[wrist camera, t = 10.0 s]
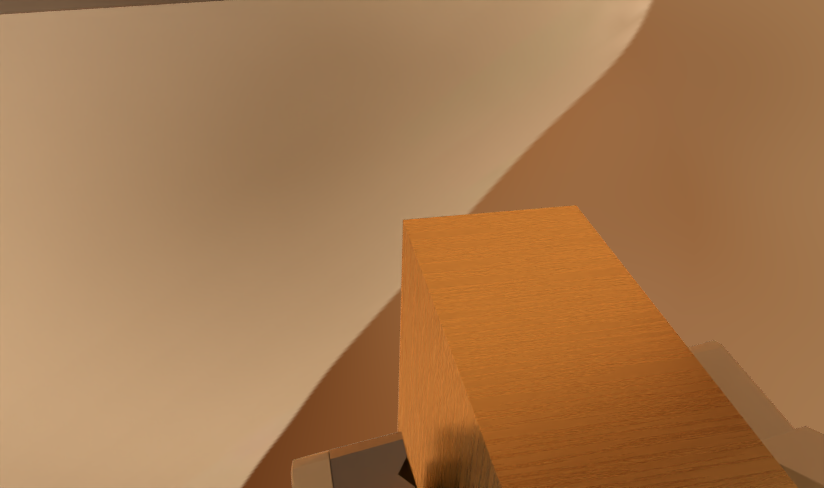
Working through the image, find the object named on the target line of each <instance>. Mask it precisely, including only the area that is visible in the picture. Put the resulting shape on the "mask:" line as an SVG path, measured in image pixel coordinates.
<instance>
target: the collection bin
mask: <svg viewBox="0 0 824 488" xmlns="http://www.w3.org/2000/svg"><path fill="white" fill-rule="evenodd" d="M206 1H222V0H0V14H13V13H29V12H45V11H61V10H77V9H93V8H109V7H126V6H142V5H158V4H174V3H190V2H206Z"/></svg>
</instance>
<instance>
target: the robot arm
mask: <svg viewBox="0 0 824 488" xmlns="http://www.w3.org/2000/svg"><path fill="white" fill-rule="evenodd" d="M688 348H689V350H690V351H691V352H692V353H693V355H694V356H695V357H696V359H697V360H698V361H699V362H700V364H701V365H702V366H703V368H704V369H705V370H706V371H707V373H708V374H709V375H710V376H711V378H712V379H713V380H714V382H715V383H716V384H717V385H718V387H719V388H720V389H721V390H722V392H723V393H724V394H725V396H726V397H727V398H728V399H729V401H730V402H731V403H732V404H733V406H734V407H735V408H736V410H737V411H738V412H739V413H740V415H741V416H742V417H743V418H744V420H745V421H746V422H747V424H748V425H749V426H750V427H751V429H752V430H753V431H754V432H755V434H756V435H757V436H758V438H759V439H760V440H761V441H762V443H763V444H764V445H765V446H766V448H767V449H768V450H769V452H770V453H771V454H772V455H773V457H774V458H775V459H776V460H777V462H778V463H779V464H780V466H781V467H782V468H783V469H784V471H785V472H786V473H787V474H788V476H789V477H790V478H791V480H792V481H793V482H794V483H795V485H796V486H797V487H798V488H824V434H822V433H820V432H818V431H815V430H813V429H811V428H809V427H807V426H804V427H801V428H796V429H795V428H794V427H793V426H792V425H791V424H790V423H789V422H788V420H787V419H786V418H785V417H784V416H783V415H782V413H781V412H780V411H779V410H778V409H777V408H776V407H775V405H774V404H773V403H772V402H771V401H770V400H769V398H768V397H767V396H766V395H765V394H764V393H763V391H762V390H761V389H760V388H759V387H758V386H757V384H756V383H755V382H754V381H753V380H752V379H751V378H750V377H749V375H748V374H747V373H746V372H745V371H744V370H743V368H742V367H741V366H740V365H739V364H738V363H737V362H736V360H735V359H734V358H733V357H732V356H731V354H730V353H729V352H728V351H727V350H726V349H725V348H724V346H723V345H722V344H720V343H718V342H716V341H714V340H712V341H709V342H705V343H702V344H698V345H694V346H691V347H688ZM291 480H292V488H417V484H416V480H415V477H414V473H413V469H412V467H411V464H410V460H409V456H408V452H407V448H406V445H405V442H404V439H403V435H402V432H401V431H400V432H397V433H393V434H389V435H385V436H382V437H377V438H373V439H369V440H366V441H362V442H358V443H354V444H350V445H346V446H342V447H338V448H335V449H331V450H327V451H324V452H320V453H317V454H313V455H309V456H306V457H302V458H298V459H295V460H293V462H292V469H291Z"/></svg>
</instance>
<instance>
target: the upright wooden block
mask: <svg viewBox="0 0 824 488" xmlns="http://www.w3.org/2000/svg"><path fill="white" fill-rule="evenodd" d="M399 359H400V360H399V396H398V397H399V398H398V399H399V400H398V432H400V431H401V432H402V435H403V439H404V442H405V445H406V448H407V452H408V456H409V460H410V464H411V467H412V469H413V473H414V477H415V480H416V484H417V488H798V487H797V486H796V485H795V483H794V482H793V481H792V480H791V478H790V477H789V476H788V474H787V473H786V472H785V471H784V469H783V468H782V467H781V466H780V464H779V463H778V462H777V460H776V459H775V458H774V457H773V455H772V454H771V453H770V452H769V450H768V449H767V448H766V446H765V445H764V444H763V443H762V441H761V440H760V439H759V438H758V436H757V435H756V434H755V432H754V431H753V430H752V429H751V427H750V426H749V425H748V424H747V422H746V421H745V420H744V418H743V417H742V416H741V415H740V413H739V412H738V411H737V410H736V408H735V407H734V406H733V404H732V403H731V402H730V401H729V399H728V398H727V397H726V396H725V394H724V393H723V392H722V390H721V389H720V388H719V387H718V385H717V384H716V383H715V382H714V380H713V379H712V378H711V376H710V375H709V374H708V373H707V371H706V370H705V369H704V368H703V366H702V365H701V364H700V362H699V361H698V360H697V359H696V357H695V356H694V355H693V353H692V352H691V351H690V350H689V348H688V347H687V346H686V345H685V343H684V342H683V341H682V340H681V338H680V337H679V336H678V334H677V333H676V332H675V331H674V329H673V328H672V327H671V326H670V324H669V323H668V322H667V320H666V319H665V318H664V317H663V315H662V314H661V313H660V311H659V310H658V309H657V308H656V306H655V305H654V304H653V303H652V301H651V300H650V299H649V298H648V296H647V295H646V294H645V292H644V291H643V290H642V289H641V287H640V286H639V285H638V283H637V282H636V281H635V280H634V278H633V277H632V276H631V275H630V273H629V272H628V271H627V270H626V268H625V267H624V266H623V265H622V263H621V262H620V261H619V259H618V258H617V257H616V255H615V254H614V253H613V252H612V250H611V249H610V248H609V247H608V245H607V244H606V243H605V242H604V240H603V239H602V238H601V236H600V235H599V234H598V233H597V231H596V230H595V229H594V227H593V226H592V225H591V224H590V222H589V221H588V220H587V218H586V217H585V216H584V215H583V213H582V212H581V211H580V210H579V208H578V207H577V206H576V205H574V206H562V207H550V208H538V209H526V210H515V211H504V212H492V213H480V214H467V215H456V216H444V217H432V218H420V219H409V220H403V241H402V279H401V318H400V357H399Z"/></svg>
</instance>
